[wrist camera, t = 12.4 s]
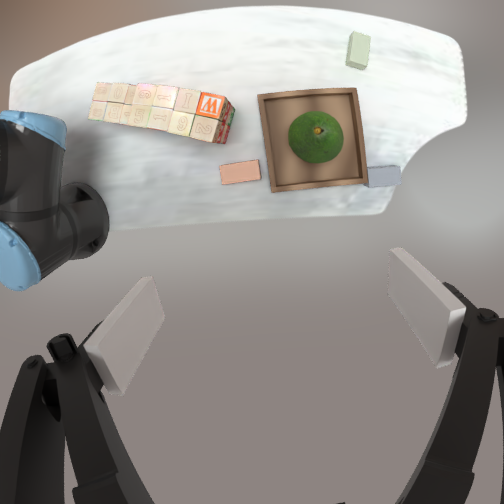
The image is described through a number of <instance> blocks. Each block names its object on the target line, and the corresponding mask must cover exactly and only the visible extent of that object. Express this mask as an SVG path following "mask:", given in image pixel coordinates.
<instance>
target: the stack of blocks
mask: <svg viewBox="0 0 504 504" xmlns="http://www.w3.org/2000/svg"><path fill="white" fill-rule="evenodd" d="M234 112H235V109H234V107H233V106H232V105H231V103H230V102H229V101H228V100H227V98H226V97H225V96H221V95H216V94H211V93H205V92H201V91H196V90H190V89H182V88H178V87H172V86H164V85H153V84H142V83H138V84H137V86H136V85H130V84H124V83H99V82H97V84H96V88H95V91H94V95H93V99H92V104H91V108H90V112H89V116H88V119H89V120H98V121H104V122H112V123H119V124H125V125H129V126H136V127H142V128H150V129H156V130H163V131H167V132H168V133H173V134H178V135H183V136H187V137H191V138H195V139H199V140H203V141H207V142H212V143H221V144H225V143H226V139H227V136H228V132H229V129H230V125H231V121H232V118H233V115H234Z"/></svg>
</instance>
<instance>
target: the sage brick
mask: <svg viewBox="0 0 504 504" xmlns="http://www.w3.org/2000/svg"><path fill="white" fill-rule="evenodd" d="M370 40H371V37H370V36H367V35H364V34H361V33H358V32H355V31H353V33H352V34H351V35H350V38H349V45H348V52H347V58H346V65H347V66H351V67H354V68H357V69H360V70H363V69H364V68H365V67H367V63H368V56H369V48H370Z"/></svg>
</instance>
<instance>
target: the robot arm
mask: <svg viewBox="0 0 504 504" xmlns="http://www.w3.org/2000/svg"><path fill="white" fill-rule="evenodd" d="M66 131H67V128H66V124H65V123H64V121H62V120H61V119H59V118H56V117H52V116H48V115H44V114H38V113H32V112H22V111H14V110H5V111H2V112H1V113H0V282H1V283H2V284H3V285H4V286H6V287H7V288H9V289H11V290H14V291H24V290H26V289H27V288H29V287H30V286H32V285H35V284H37V283H38V282H39V281H40V280H42V279H43V278H45V277H46V276H47V275H49V274H50V273H51V272H53V271H54V270H55V269H57V268H58V267H60V266H61V265H62V264H64V263H65V262H67V261H68V260H75V259H84V258H87V257H90V256H91V255H93V254H94V253H96V252H97V251H99V250H100V248H102V246H103V245H104V243H105V241H106V239H107V236H108V231H109V218H108V213H107V209H106V206H105V204H104V202H103V200H102V198H101V197H100V196H99V194H98V193H97V192H96V191H95V190H94V189H93V188H91V187H90V186H88V185H86V184H83V183H72V184H68V185H65V186H63V187H61V188H60V186H61V174H62V164H63V156H64V151H66V147H65V140H66ZM388 277H389V278H388V293H387V294H388V295H389V297H390V298H391V300H392V301H393V303H394V304H395V305H396V307H397V308H398V310H399V311H400V313H401V314H402V316H403V317H404V318H405V320H406V321H407V323H408V324H409V326H410V327H411V329H412V330H413V332H414V333H415V335H416V336H417V338H418V340H419V341H420V342H421V344H422V346H423V347H424V349H425V350H426V352H427V354H428V355H429V357H430V358H431V360H432V362H433V363H434V365H435V366H436V368H439V367H442V366H446V365H449V364H451V363H452V360H453V357H454V353H456V354H457V356H458V357H459V360H458V363H457V366H456V369H455V372H454V375H453V380H452V383H451V386H450V389H449V392H448V395H447V398H446V400H445V403H444V406H443V409H442V411H441V414H440V417H439V419H438V421H437V424H436V426H435V429H434V431H433V433H432V436H431V438H430V440H429V442H428V445H427V447H426V449H425V451H424V453H423V455H422V457H421V459H420V461H419V463H418V465H417V467H416V469H415V471H414V473H413V474H412V476H411V478H410V480H409V482H408V483H407V485H406V487H405V489H404V490H403V492H402V494H401V495H400V497H399V499H398V500H397V502H396V503H395V504H464V503H465V501H466V499H467V496H468V494H469V491H470V489H471V486H472V483H473V480H474V473H473V472H472V467H473V465H474V462H475V458H476V455H477V452H478V449H479V446H480V442H481V439H482V435H483V431H484V427H485V423H486V419H487V415H488V409H489V405H490V400H491V395H492V389H493V383H494V376H495V369H497V376H498V381H499V389H500V397H501V407H502V420H503V446H504V318H499V316H498V315H497V314H496V313H495V312H494V311H492V310H490V309H486V308H479V309H477V308H476V307H475V306H474V305H473V304H472V303H471V302H470V301H469V300H468V299H467V298H466V297H464V295H463V294H462V293H460V292H459V291H458V290H457V289H456V288H455V287H454V286H452V285H450V284H448V283H446V282H444V283H441V282H440V281H439V280H438V279H437V278H435V277H434V276H433V275H432V274H431V273H430V272H429V271H428V270H427V269H426V268H424V267H423V266H422V265H421V264H420V263H419V262H418V261H417V260H416V259H414V258H413V257H412V256H411V255H410V254H409V253H407V252H406V251H405V250H404V249H403V248H402V247H401V248H393V249H389V274H388ZM164 320H165V314H164V311H163V308H162V305H161V302H160V298H159V295H158V292H157V288H156V285H155V281H154V278H153V276H151V277H141V279H140V280H139V281H138V282H137V283H136V284H135V285H134V286H133V287H132V289H131V290H130V291H129V292H128V293H127V294H126V296H124V298H123V299H122V300H121V301H120V302H119V303H118V304H117V306H116V307H115V308H114V309H113V310H112V312H111V313H110V314H109V315H108V316H107V317H106V318H105V319H104V320H103V321H101V322H100V323H99V324H97V325H96V326H95V328H94V329H93V330H92V332H90V334H89V335H88V337H86V338H85V339H84V341H83V342H82V343H81V344H80V345H79V347H78V348H77V346H76V344H75V342H74V340H73V338H72V336H71V335H70V334H68V333H66V334H60V335H58V336H56V337H54V338H52V339H51V340H50V341H49V342H48V343H47V349H48V350H49V352H50V354H51V356H52V357H53V360H54V363H47V364H46V362H45V361H44V359H43V357H42V356H41V355H35V356H30V357H29V358H27V359H26V360H25V361H24V363H23V364H22V366H21V368H20V371H19V374H18V376H17V379H16V382H15V385H14V388H13V390H12V393H11V396H10V399H9V402H8V405H7V409H6V412H5V416H4V419H3V422H2V426H1V430H0V504H64V449H65V436H66V441H67V446H68V450H69V454H70V458H71V462H72V465H73V469H74V472H75V476H76V479H77V483H78V487H75V488H73V490H72V493H73V498H74V501H75V504H154V502H153V501H152V498H151V497H150V495H149V493H148V492H147V490H146V488H145V486H144V484H143V483H142V481H141V479H140V477H139V475H138V473H137V471H136V469H135V467H134V465H133V463H132V462H131V460H130V457H129V455H128V453H127V451H126V449H125V447H124V444H123V442H122V440H121V438H120V436H119V433H118V431H117V429H116V426H115V424H114V422H113V419H112V417H111V414H110V411H109V409H108V406H107V403H106V401H105V398H104V395H103V394H102V392H101V388H102V386H103V385H104V386H105V387H106V389H107V391H108V393H109V394H114V395H124V393H125V391H126V389H127V387H128V385H129V383H130V382H131V380H132V378H133V376H134V374H135V372H136V370H137V368H138V367H139V364H140V363H141V361H142V359H143V357H144V356H145V354H146V352H147V350H148V348H149V346H150V345H151V343H152V341H153V339H154V337H155V336H156V334H157V332H158V330H159V328H160V327H161V325H162V323H163V321H164ZM503 449H504V448H503ZM503 454H504V453H503ZM503 459H504V455H503ZM503 462H504V460H503ZM338 504H345V502H344V503H338ZM500 504H504V463H503V481H502V493H501V503H500Z"/></svg>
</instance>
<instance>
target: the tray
mask: <svg viewBox="0 0 504 504" xmlns="http://www.w3.org/2000/svg"><path fill="white" fill-rule="evenodd" d="M257 96H258V103H259V109H260V115H261V122H262V128H263V135H264V142H265V149H266V156H267V162H268V170H269V177H270V184H271V191H272V193H274V192H282V191H290V190H299V189H308V188H318V187H328V186H339V185H350V184H362V183H368V176H367V164H366V154H365V145H364V136H363V128H362V121H361V114H360V107H359V100H358V94H357V89H356V88H326V89H309V90H296V91H285V92H276V93H268V94H260V95H257ZM310 111H322V112H325V113H327V114H329V115H331V116H332V117H334V118H335V119H336V120H337V121H338V123H339V124H340V126H341V128H342V131H343V136H344V142H343V147H342V150H341V152H340V153H339V154H338V155H337V156H336V157H335V158H334V159H332V160H331V161H328V162H325V163H309V162H306V161H304V160H302V159H301V158H299V157H298V156H297V155H296V154H295V153H294V152H293V150H292V149H291V147H290V146H289V140H288V131H289V128H290V125H291V124H292V122H293V121H294V120H295V119H296V118H297V117H299V116H300V115H302V114H304V113H306V112H310Z"/></svg>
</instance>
